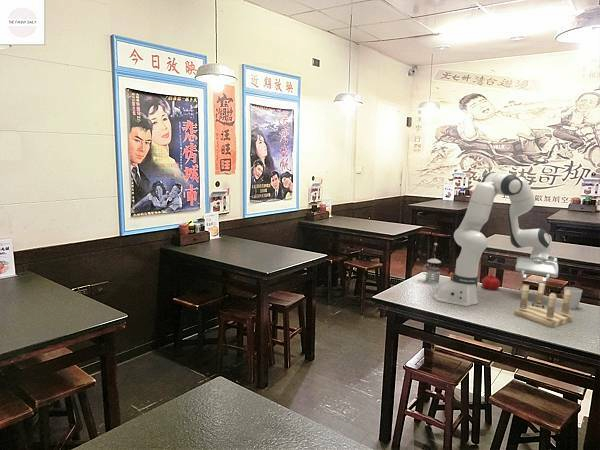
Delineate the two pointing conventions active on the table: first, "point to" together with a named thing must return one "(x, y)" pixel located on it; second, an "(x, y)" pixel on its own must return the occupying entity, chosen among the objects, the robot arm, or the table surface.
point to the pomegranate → (490, 282)
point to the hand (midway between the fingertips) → (534, 280)
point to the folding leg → (540, 292)
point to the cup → (574, 296)
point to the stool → (545, 310)
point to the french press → (434, 271)
